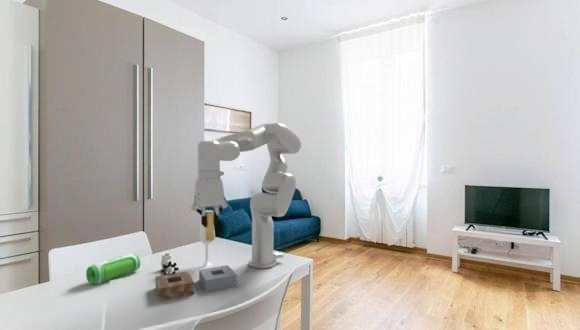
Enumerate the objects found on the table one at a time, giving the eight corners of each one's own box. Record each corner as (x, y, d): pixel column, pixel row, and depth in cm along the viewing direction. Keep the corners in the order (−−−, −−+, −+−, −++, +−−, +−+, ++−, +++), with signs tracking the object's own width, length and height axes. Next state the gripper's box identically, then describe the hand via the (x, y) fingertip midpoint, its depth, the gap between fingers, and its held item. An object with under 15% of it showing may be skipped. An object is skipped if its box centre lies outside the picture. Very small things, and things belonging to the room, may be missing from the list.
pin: (213, 237, 114) (212, 211, 113) (215, 240, 111) (214, 212, 111) (204, 239, 112) (204, 212, 112) (206, 241, 110) (206, 213, 109)
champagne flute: (216, 264, 136) (216, 210, 135) (212, 269, 129) (213, 212, 128) (200, 264, 136) (201, 209, 135) (196, 269, 129) (197, 212, 128)
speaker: (130, 269, 129) (130, 251, 129) (141, 272, 125) (141, 254, 125) (85, 283, 114) (85, 263, 114) (96, 288, 110) (95, 267, 110)
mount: (188, 284, 114) (188, 271, 114) (194, 297, 104) (194, 282, 104) (155, 290, 108) (155, 276, 108) (158, 304, 99) (158, 288, 99)
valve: (157, 270, 128) (160, 280, 118) (157, 254, 128) (160, 263, 118) (173, 267, 131) (178, 277, 121) (174, 252, 131) (178, 260, 121)
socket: (227, 277, 121) (227, 265, 121) (236, 288, 111) (236, 274, 111) (199, 282, 116) (199, 269, 115) (206, 294, 106) (206, 280, 106)
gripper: (228, 173, 118) (229, 221, 119) (183, 175, 110) (184, 226, 111) (234, 175, 111) (234, 225, 112) (187, 177, 104) (188, 231, 104)
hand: (209, 225), depth 112 cm, fingers closed on pin, 3 cm apart
